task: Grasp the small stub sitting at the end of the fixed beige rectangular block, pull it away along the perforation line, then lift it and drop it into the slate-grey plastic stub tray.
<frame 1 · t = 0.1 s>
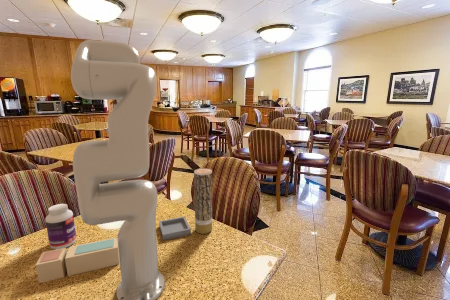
hand: (130, 148, 98), 31 cm above the table, fingers open, 9 cm apart
beige rectangular block: (95, 263, 74), on the table
bark textured cylinder: (203, 230, 94), on the table
stub tray: (174, 230, 93), on the table
pill bottle: (63, 244, 84), on the table
stub: (54, 273, 70), on the table
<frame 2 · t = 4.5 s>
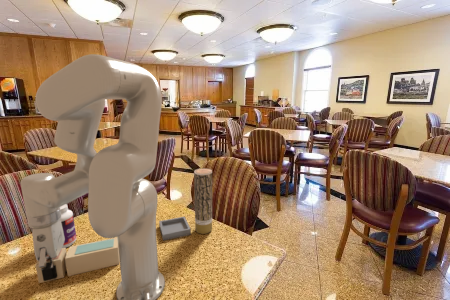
hand: (53, 270, 70), 1 cm above the table, fingers closed on stub, 6 cm apart
stub: (54, 273, 70), on the table, touching gripper
everything else where it was.
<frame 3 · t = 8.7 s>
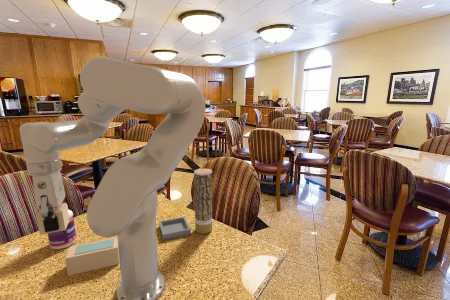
hand: (55, 224, 68), 15 cm above the table, fingers closed on stub, 6 cm apart
stub: (55, 227, 68), point 14 cm above the table, touching gripper
everything else where it was.
when the fingers open (4 cm above the table, at t = 12.8 s): stub drops 2 cm, resting on stub tray.
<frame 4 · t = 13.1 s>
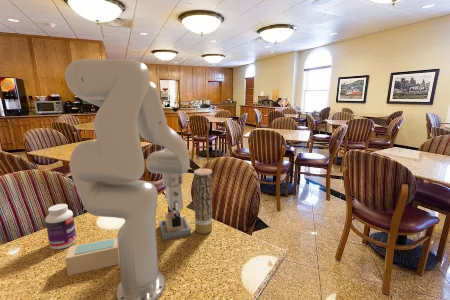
hand: (174, 220, 92), 4 cm above the table, fingers open, 9 cm apart
stub: (174, 228, 93), point 1 cm above the table, touching stub tray
everything else where it was.
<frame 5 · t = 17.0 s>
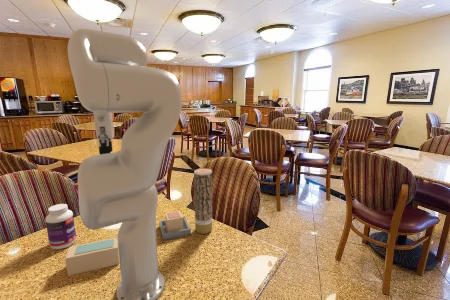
hand: (106, 154, 81), 32 cm above the table, fingers open, 9 cm apart
nothing on the table moved.
at the end: stub inside the target area on the stub tray (0.1 cm from its centre), point 0.8 cm above the stub tray's base; stub moved 39.2 cm from its start; the gripper is holding nothing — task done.
